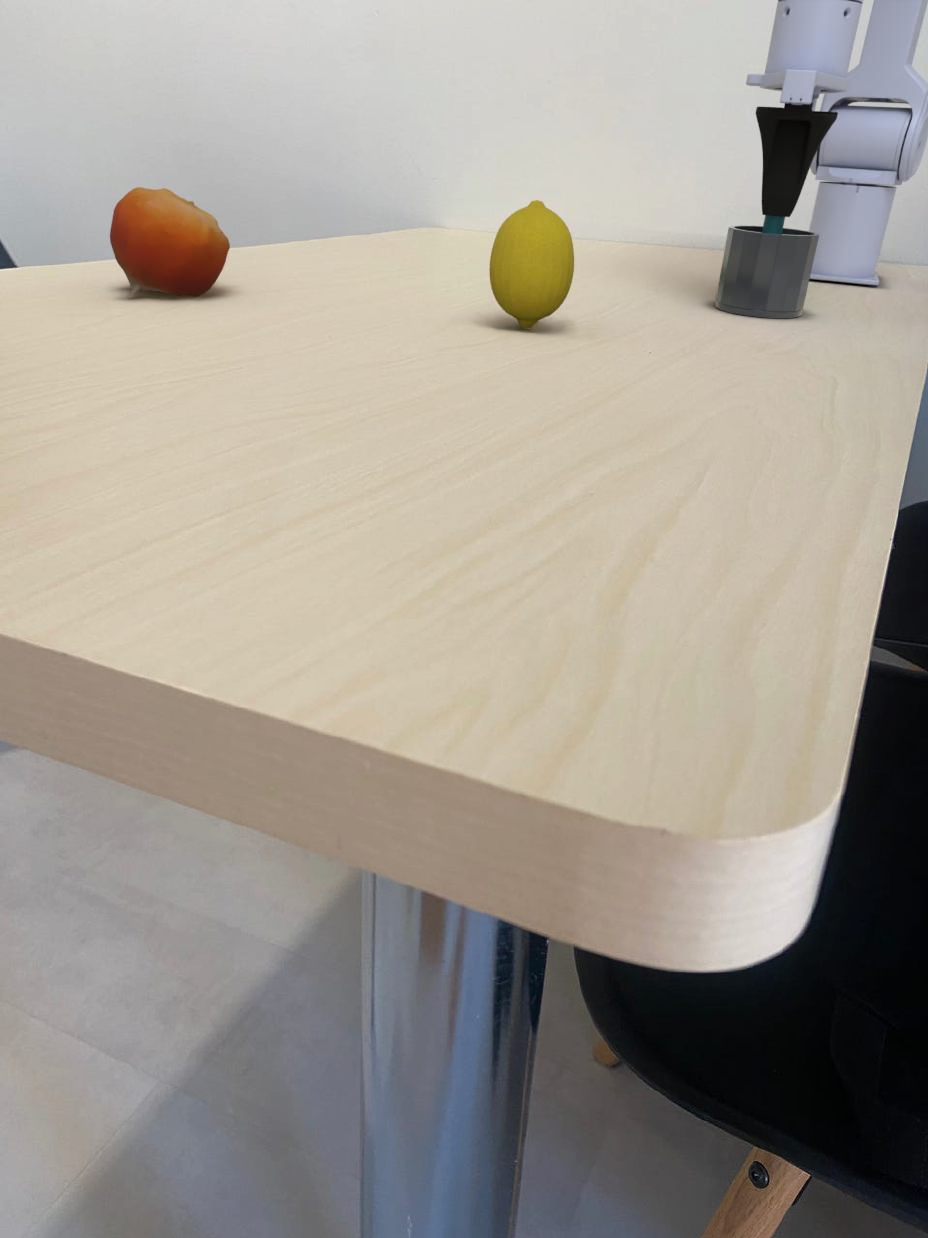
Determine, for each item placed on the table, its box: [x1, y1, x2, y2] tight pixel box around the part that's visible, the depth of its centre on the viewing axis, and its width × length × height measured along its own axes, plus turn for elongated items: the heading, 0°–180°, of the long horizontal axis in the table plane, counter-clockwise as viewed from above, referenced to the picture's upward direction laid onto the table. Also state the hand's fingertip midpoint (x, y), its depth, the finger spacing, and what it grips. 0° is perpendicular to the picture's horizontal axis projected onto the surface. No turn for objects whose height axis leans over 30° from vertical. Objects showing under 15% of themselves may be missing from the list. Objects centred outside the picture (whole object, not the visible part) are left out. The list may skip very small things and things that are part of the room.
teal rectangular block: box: [762, 215, 786, 234], centre depth 69 cm, size 2×2×8 cm
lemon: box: [489, 199, 575, 330], centre depth 60 cm, size 6×6×8 cm
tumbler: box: [714, 224, 819, 319], centre depth 72 cm, size 7×7×6 cm
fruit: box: [109, 186, 231, 299], centre depth 65 cm, size 8×8×8 cm
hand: (776, 214), depth 70 cm, fingers closed on teal rectangular block, 1 cm apart
